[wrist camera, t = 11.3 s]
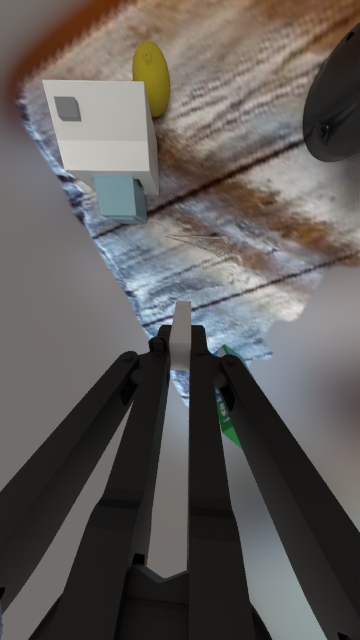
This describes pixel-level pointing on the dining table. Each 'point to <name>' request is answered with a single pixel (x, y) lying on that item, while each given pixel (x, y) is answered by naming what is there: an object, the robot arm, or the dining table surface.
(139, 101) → the socket
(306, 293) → the dining table surface
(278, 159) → the dining table surface
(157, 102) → the lemon
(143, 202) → the plug
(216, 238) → the tweezers
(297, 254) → the dining table surface
